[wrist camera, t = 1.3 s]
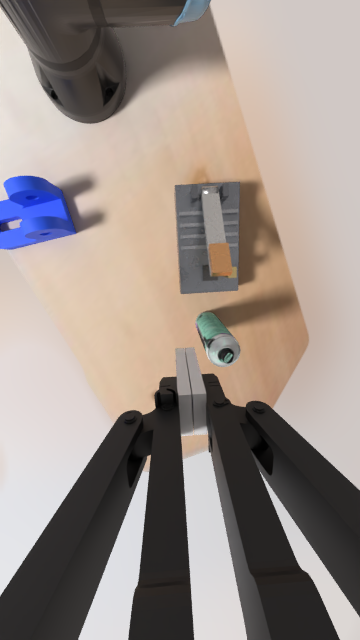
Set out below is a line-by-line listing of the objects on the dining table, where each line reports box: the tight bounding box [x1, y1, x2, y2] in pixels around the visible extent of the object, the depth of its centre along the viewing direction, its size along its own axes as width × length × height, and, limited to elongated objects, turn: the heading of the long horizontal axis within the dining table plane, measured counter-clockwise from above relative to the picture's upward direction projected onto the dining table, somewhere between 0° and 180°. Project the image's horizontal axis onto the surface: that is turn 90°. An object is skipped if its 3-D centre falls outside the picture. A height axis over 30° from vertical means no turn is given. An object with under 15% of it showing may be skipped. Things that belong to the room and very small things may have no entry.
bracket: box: [0, 176, 76, 250], centre depth 40 cm, size 18×8×9 cm, turn 103°
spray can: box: [195, 312, 240, 367], centre depth 41 cm, size 6×6×20 cm
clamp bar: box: [201, 186, 233, 277], centre depth 35 cm, size 17×3×3 cm, turn 4°
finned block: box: [174, 182, 240, 294], centre depth 42 cm, size 20×12×9 cm, turn 3°
